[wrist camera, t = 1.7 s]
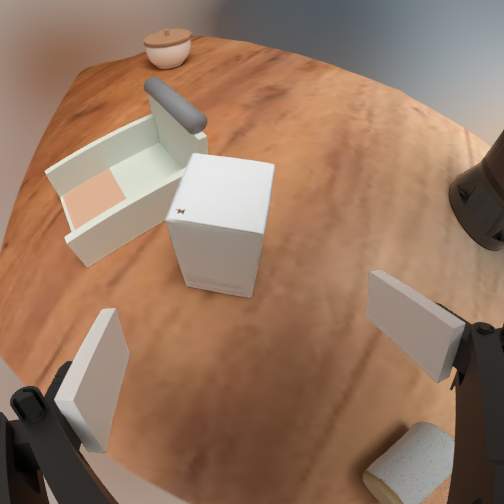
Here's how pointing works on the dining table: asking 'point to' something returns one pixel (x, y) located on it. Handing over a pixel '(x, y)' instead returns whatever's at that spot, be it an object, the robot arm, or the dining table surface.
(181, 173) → the tray
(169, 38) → the lidded jar
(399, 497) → the ceramic mug
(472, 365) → the robot arm
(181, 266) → the supplement box
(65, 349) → the dining table surface
